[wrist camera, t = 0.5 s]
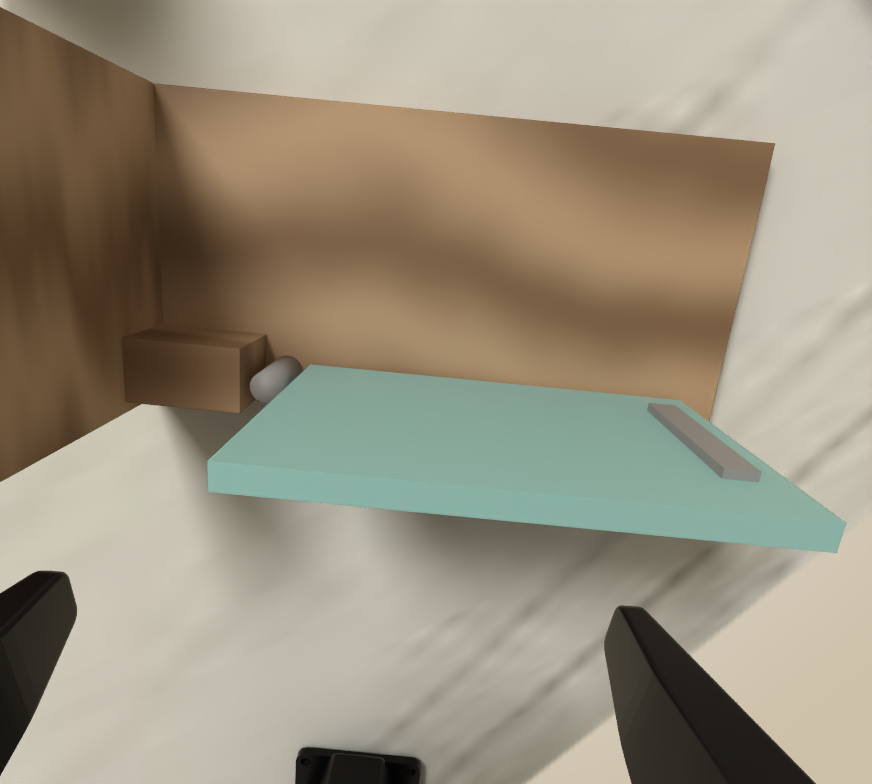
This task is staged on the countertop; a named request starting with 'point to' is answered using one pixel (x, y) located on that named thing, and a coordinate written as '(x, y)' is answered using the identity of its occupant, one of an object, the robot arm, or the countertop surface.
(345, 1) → the countertop surface
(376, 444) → the door
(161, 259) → the cabinet base
